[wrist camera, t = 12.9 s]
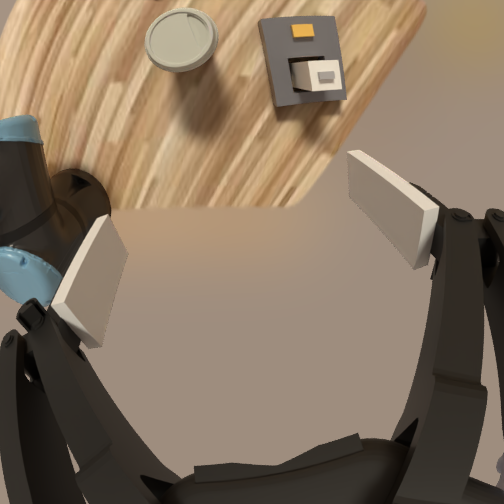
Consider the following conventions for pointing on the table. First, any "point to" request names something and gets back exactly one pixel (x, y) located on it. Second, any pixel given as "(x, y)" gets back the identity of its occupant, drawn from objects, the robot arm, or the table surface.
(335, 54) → the grey charger dock
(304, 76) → the block
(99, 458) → the robot arm
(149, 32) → the coffee cup
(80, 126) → the table surface
